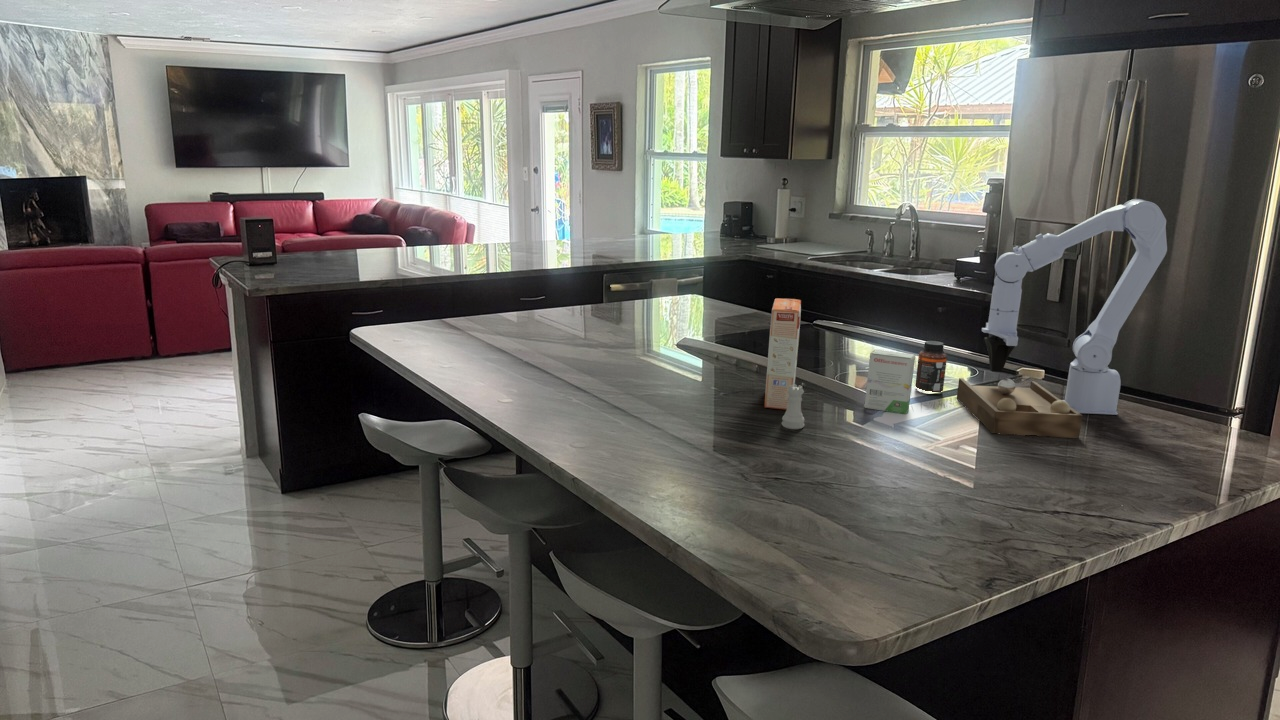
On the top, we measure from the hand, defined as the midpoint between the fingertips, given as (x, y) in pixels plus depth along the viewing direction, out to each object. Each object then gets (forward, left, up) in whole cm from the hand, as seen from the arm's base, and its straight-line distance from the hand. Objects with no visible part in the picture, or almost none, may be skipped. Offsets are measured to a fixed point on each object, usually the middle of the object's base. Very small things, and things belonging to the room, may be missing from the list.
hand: (995, 371), depth 186 cm
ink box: (+25, +11, -6) cm, 28 cm away
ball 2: (-5, +22, -2) cm, 23 cm away
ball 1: (+5, +22, -2) cm, 23 cm away
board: (0, +13, -6) cm, 14 cm away
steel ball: (0, +7, -2) cm, 7 cm away
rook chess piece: (+46, +26, -6) cm, 53 cm away
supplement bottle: (+13, -3, -6) cm, 15 cm away
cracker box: (+47, +9, -6) cm, 48 cm away
